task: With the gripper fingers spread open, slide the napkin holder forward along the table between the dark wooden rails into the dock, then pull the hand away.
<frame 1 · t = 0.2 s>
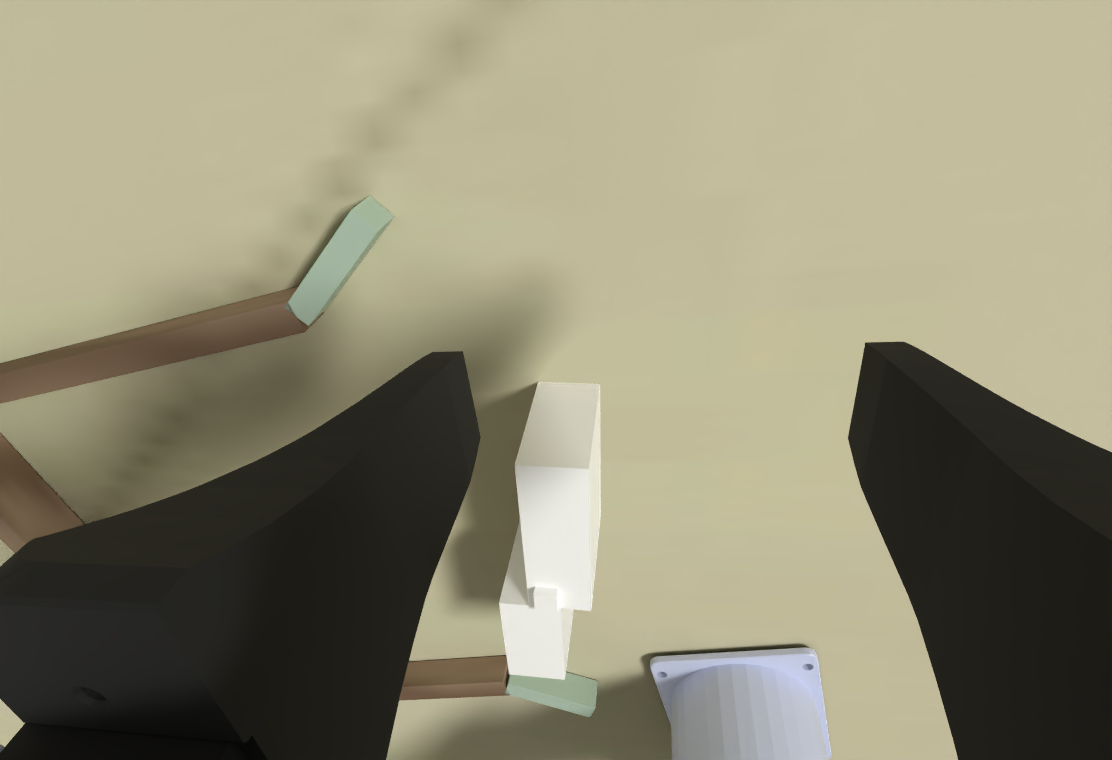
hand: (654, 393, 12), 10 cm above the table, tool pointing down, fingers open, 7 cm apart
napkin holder: (549, 489, 28), on the table
napkin dock: (294, 533, 30), on the table
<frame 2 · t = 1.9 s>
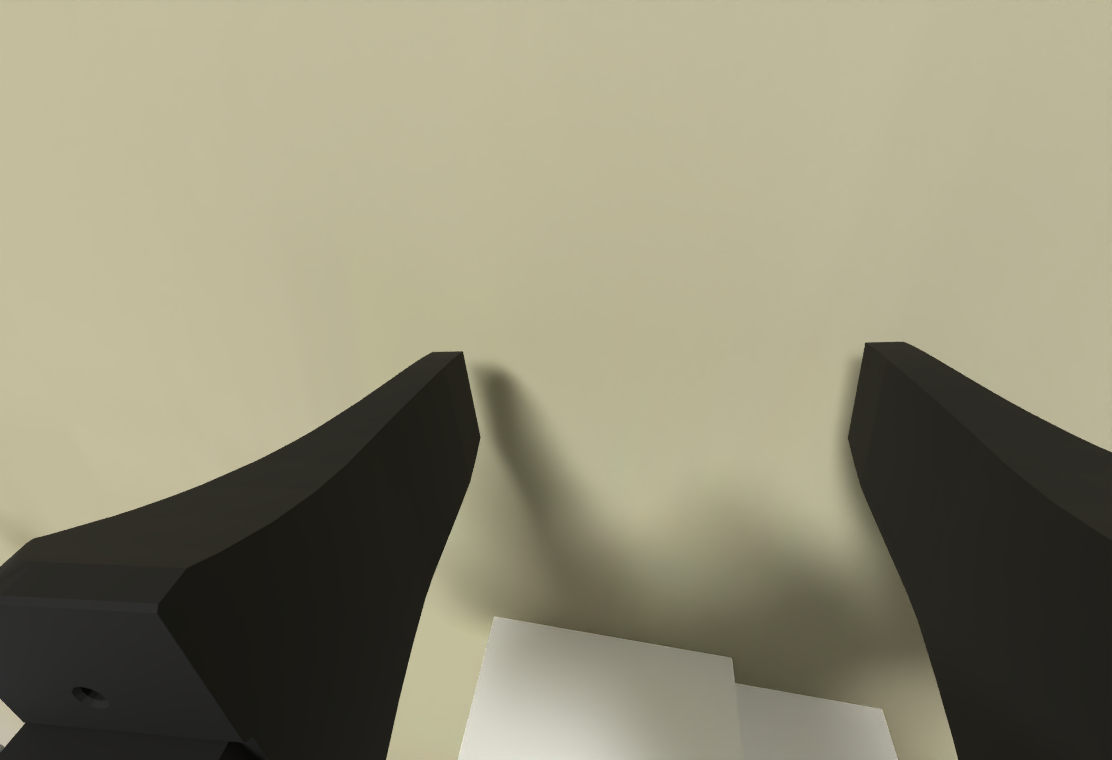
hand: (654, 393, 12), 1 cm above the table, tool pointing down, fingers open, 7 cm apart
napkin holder: (687, 676, 20), on the table
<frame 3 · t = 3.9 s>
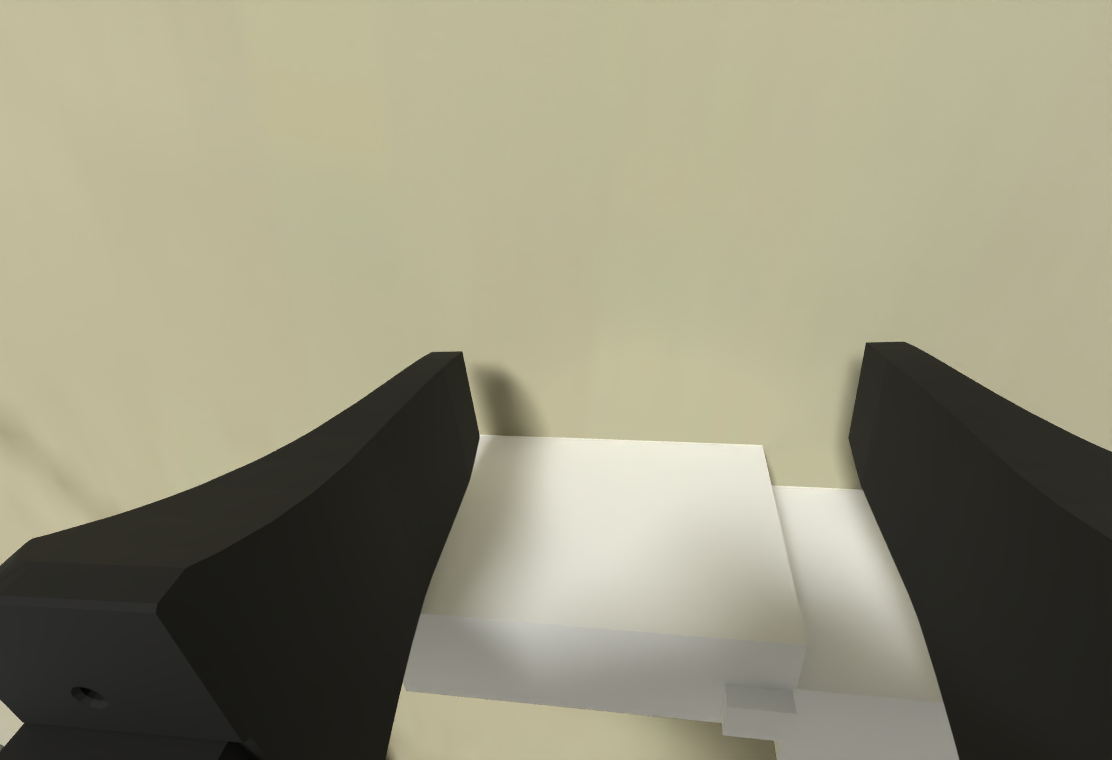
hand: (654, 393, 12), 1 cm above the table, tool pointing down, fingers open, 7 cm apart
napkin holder: (715, 501, 15), on the table
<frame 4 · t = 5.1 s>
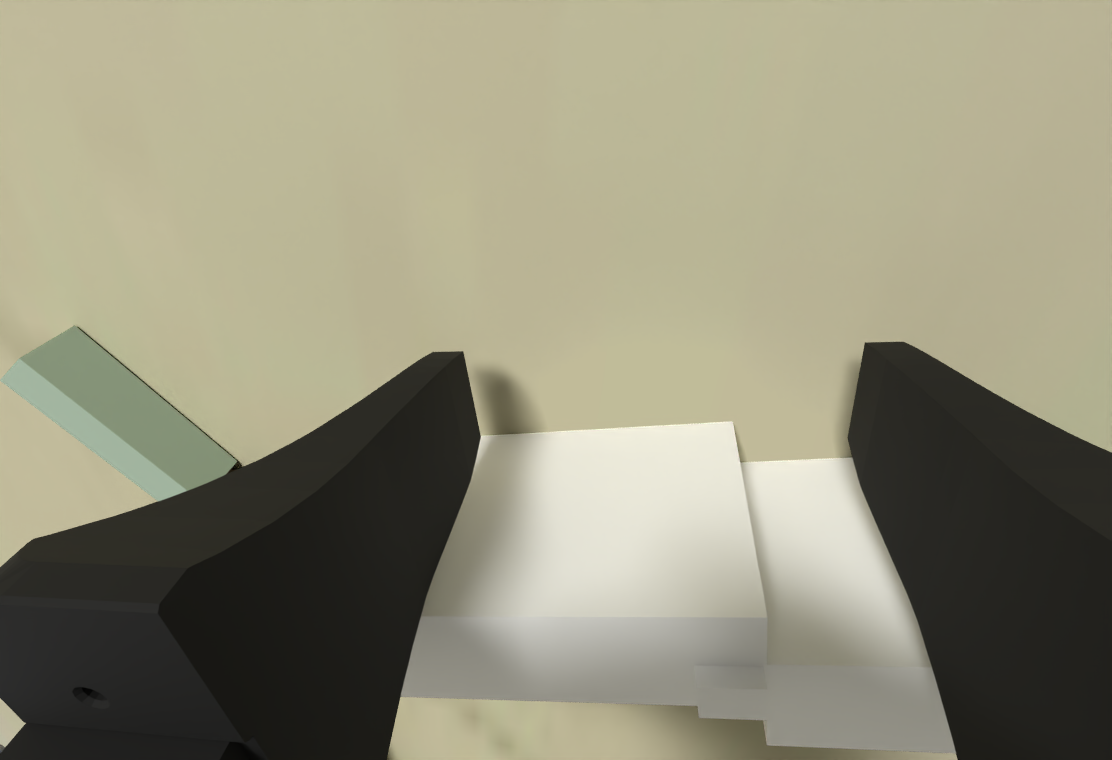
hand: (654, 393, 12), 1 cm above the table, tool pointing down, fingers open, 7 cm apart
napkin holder: (699, 484, 15), on the table
napkin dock: (663, 669, 18), on the table
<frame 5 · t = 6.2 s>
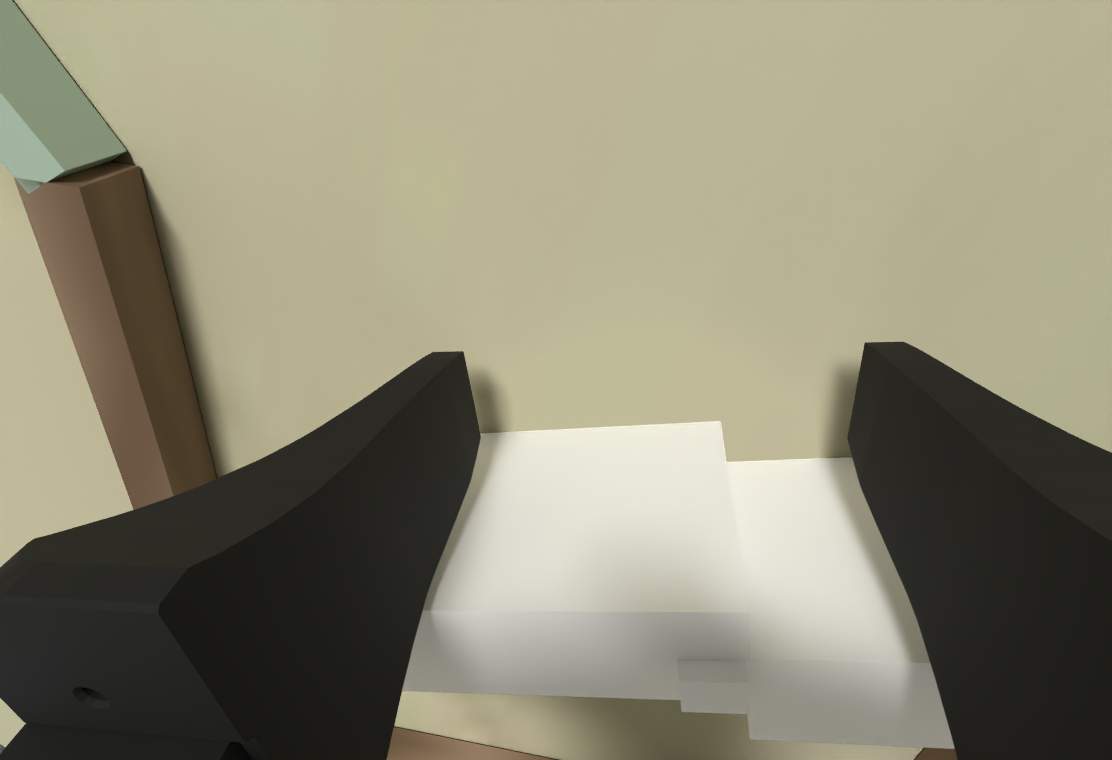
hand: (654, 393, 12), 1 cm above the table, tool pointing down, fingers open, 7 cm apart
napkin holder: (688, 482, 15), on the table, touching gripper
napkin dock: (613, 534, 16), on the table
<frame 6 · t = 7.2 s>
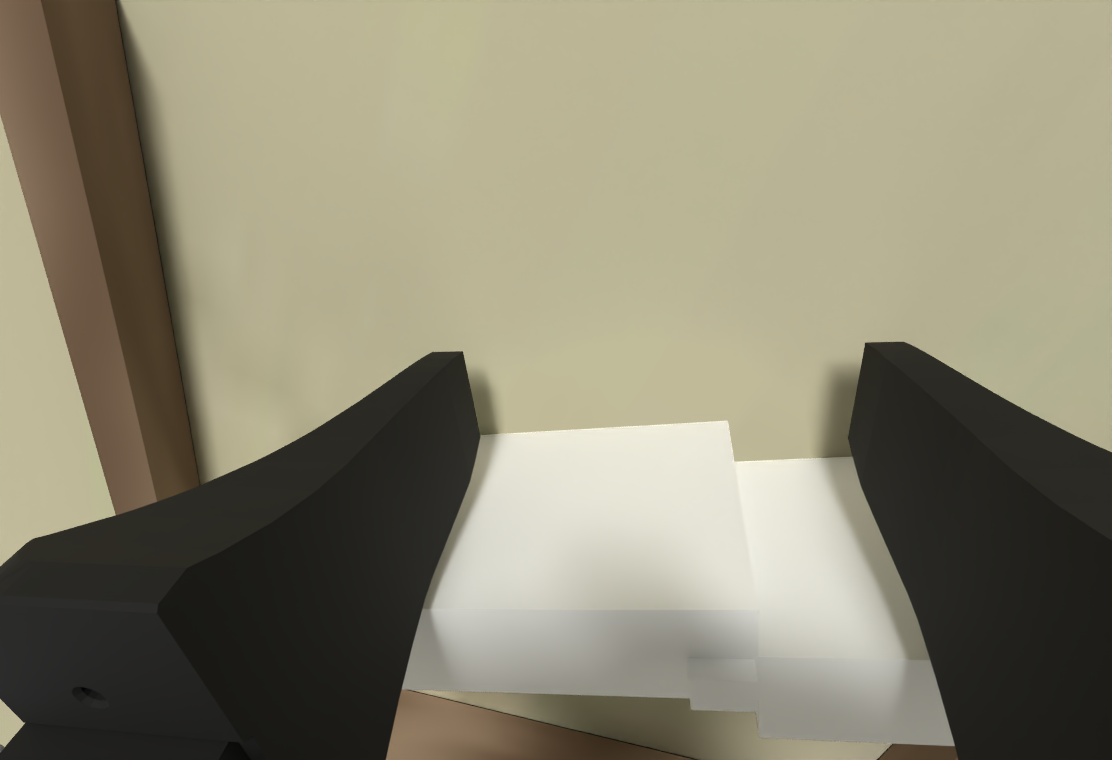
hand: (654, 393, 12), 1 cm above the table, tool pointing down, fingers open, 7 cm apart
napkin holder: (695, 480, 15), on the table
napkin dock: (618, 465, 14), on the table
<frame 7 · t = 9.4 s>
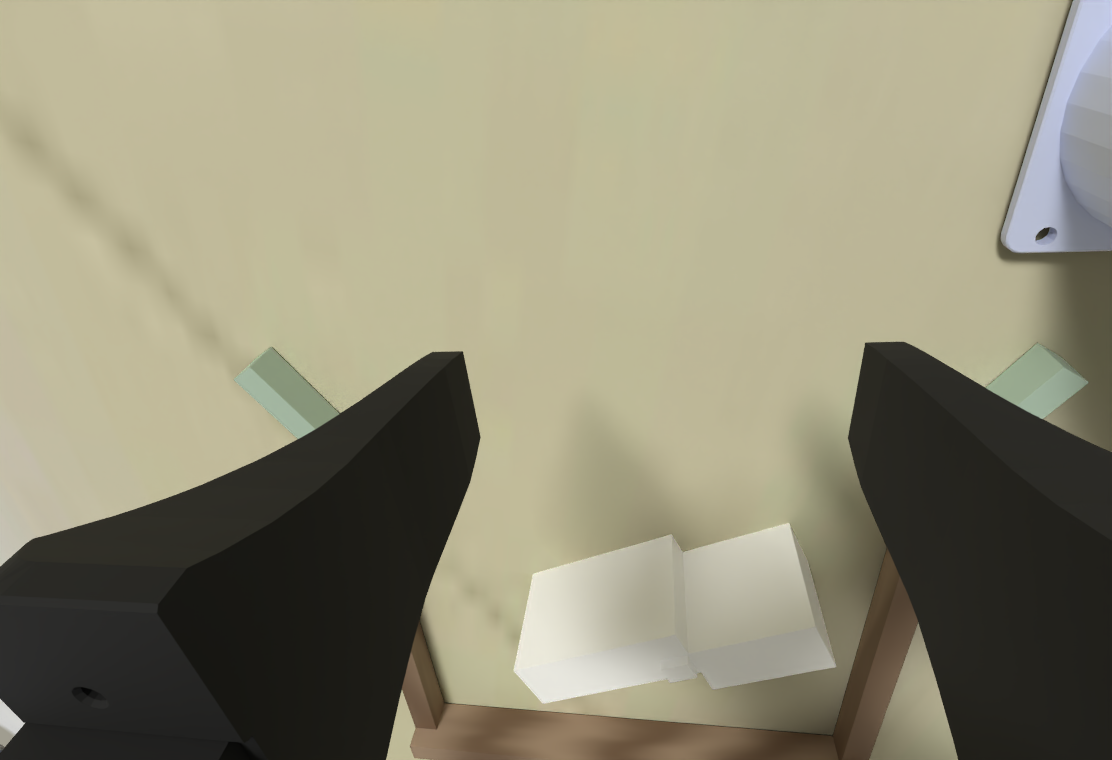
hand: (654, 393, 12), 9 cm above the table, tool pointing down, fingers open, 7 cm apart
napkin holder: (676, 561, 28), on the table
napkin dock: (625, 575, 28), on the table
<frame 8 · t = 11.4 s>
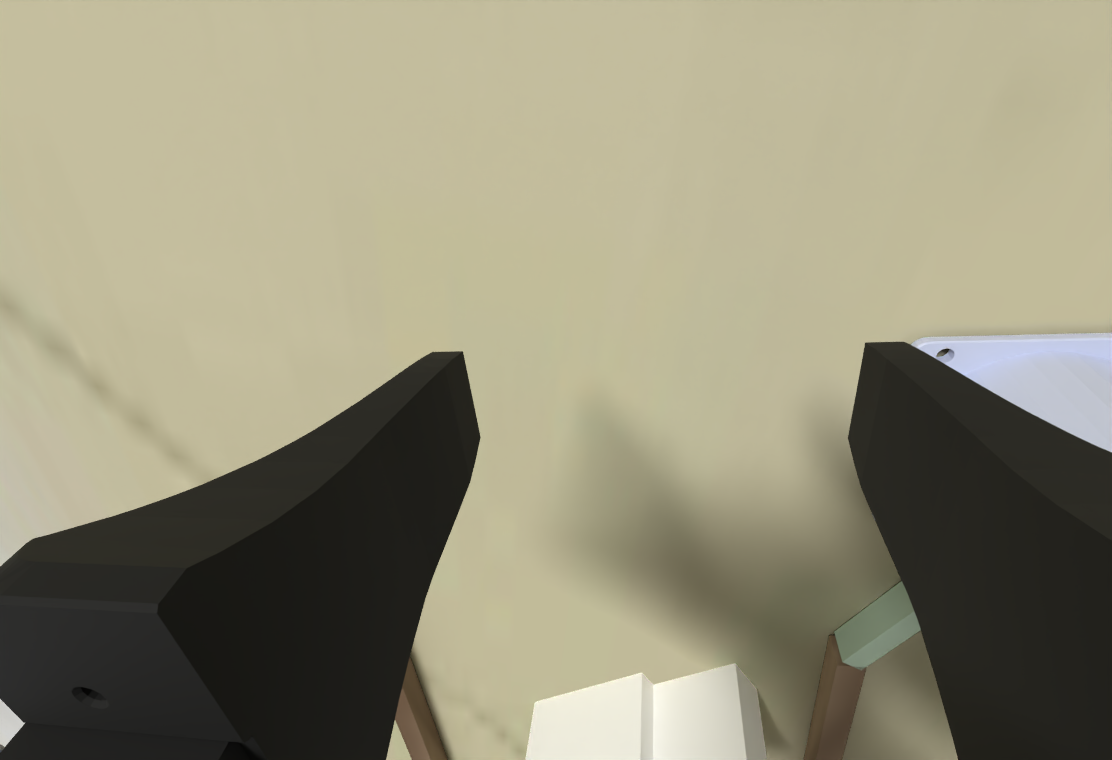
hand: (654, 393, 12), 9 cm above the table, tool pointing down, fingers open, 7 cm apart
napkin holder: (651, 687, 34), on the table
napkin dock: (607, 711, 34), on the table
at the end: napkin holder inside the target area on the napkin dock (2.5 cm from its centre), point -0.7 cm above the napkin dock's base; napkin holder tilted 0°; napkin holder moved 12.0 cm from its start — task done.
